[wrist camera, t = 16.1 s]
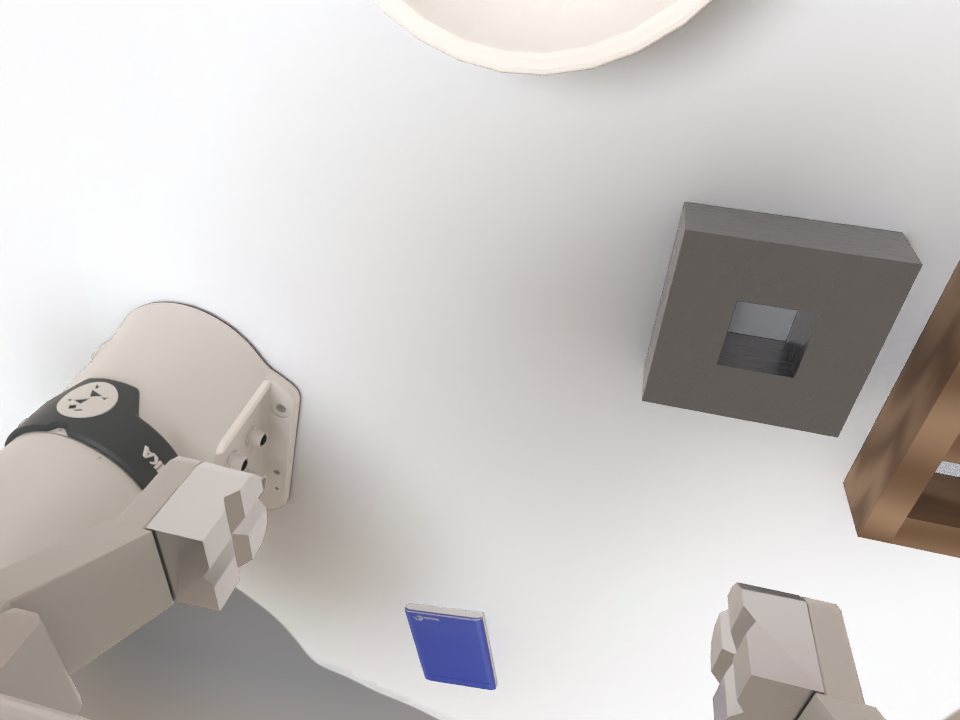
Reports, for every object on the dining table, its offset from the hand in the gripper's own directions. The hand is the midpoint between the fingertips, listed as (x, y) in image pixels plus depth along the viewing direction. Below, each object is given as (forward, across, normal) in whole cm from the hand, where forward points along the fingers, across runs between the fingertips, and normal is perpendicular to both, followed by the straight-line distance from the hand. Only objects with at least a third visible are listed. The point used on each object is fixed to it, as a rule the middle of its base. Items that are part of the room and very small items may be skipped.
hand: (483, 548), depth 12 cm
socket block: (+32, +12, -11) cm, 36 cm away
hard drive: (+34, -6, -57) cm, 67 cm away
